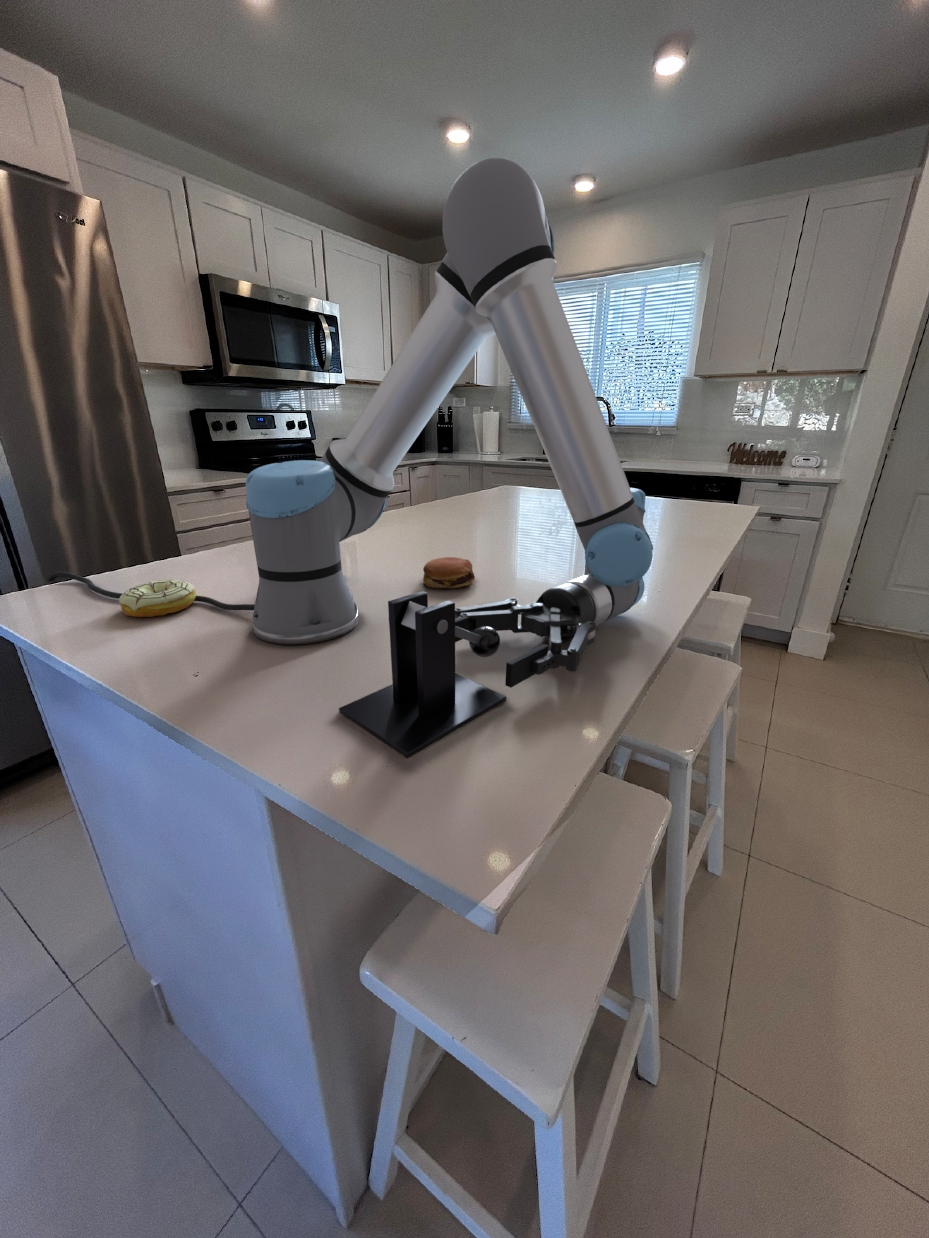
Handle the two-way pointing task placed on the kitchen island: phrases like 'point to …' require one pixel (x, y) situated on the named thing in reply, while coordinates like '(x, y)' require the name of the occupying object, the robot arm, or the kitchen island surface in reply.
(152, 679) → the kitchen island surface
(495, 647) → the lever handle
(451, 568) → the burger
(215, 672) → the kitchen island surface
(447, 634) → the black stand
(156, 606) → the decorated donut
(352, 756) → the kitchen island surface
